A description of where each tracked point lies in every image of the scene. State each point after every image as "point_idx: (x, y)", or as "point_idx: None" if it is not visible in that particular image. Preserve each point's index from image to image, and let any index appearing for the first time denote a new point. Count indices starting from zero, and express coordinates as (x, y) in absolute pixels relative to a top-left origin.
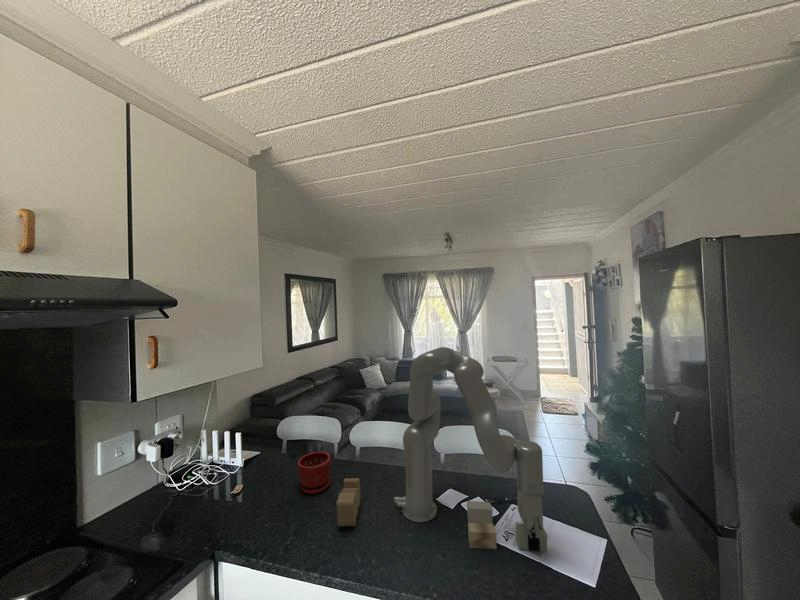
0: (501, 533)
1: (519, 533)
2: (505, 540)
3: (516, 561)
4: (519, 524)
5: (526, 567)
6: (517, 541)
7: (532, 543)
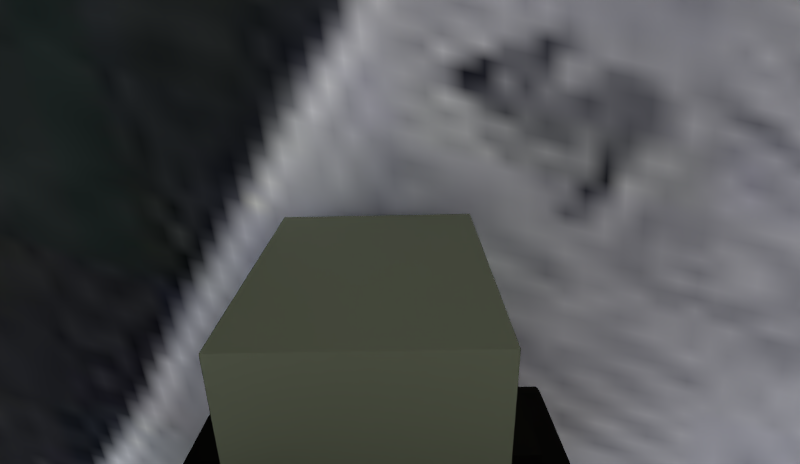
0: (604, 22)
1: (229, 331)
2: (455, 55)
3: (78, 124)
4: (480, 407)
5: (16, 226)
6: (379, 227)
7: (195, 444)
